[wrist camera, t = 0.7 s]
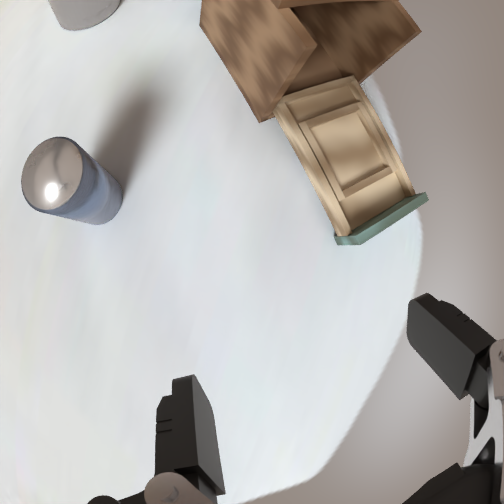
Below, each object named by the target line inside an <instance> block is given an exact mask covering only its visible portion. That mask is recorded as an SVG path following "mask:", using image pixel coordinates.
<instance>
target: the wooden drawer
mask: <svg viewBox="0 0 504 504" xmlns="http://www.w3.org/2000/svg"><path fill="white" fill-rule="evenodd" d="M272 112H273V113H274V115H275V117H276V119H277V120H278V122H279V124H280V126H281V127H282V129H283V131H284V133H285V134H286V136H287V138H288V140H289V142H290V143H291V145H292V147H293V149H294V151H295V153H296V154H297V156H298V158H299V160H300V162H301V164H302V166H303V168H304V169H305V171H306V173H307V175H308V177H309V179H310V181H311V183H312V185H313V187H314V189H315V191H316V193H317V195H318V197H319V199H320V201H321V203H322V205H323V207H324V209H325V211H326V213H327V215H328V217H329V219H330V221H331V223H332V225H333V227H334V230H335V232H336V234H337V236H335V237H334V238H335V241H336V243H337V245H361V244H363V243H364V242H366V241H367V240H369V239H370V238H372V237H374V236H375V235H377V234H378V233H380V232H381V231H383V230H385V229H386V228H388V227H389V226H391V225H392V224H394V223H395V222H397V221H398V220H400V219H401V218H403V217H404V216H406V215H407V214H409V213H410V212H412V211H413V210H415V209H416V208H418V207H419V206H421V205H422V204H424V203H425V202H427V201H428V200H429V199H428V197H427V195H426V192H424V193H419V194H415V191H414V189H413V186H412V184H411V182H410V180H409V177H408V175H407V173H406V171H405V169H404V166H403V164H402V162H401V160H400V158H399V156H398V154H397V152H396V150H395V148H394V146H393V144H392V142H391V140H390V138H389V136H388V134H387V132H386V130H385V128H384V126H383V125H382V123H381V121H380V119H379V117H378V116H377V114H376V112H375V110H374V108H373V107H372V105H371V103H370V102H369V100H368V98H367V96H366V95H365V93H364V91H363V90H362V88H361V87H360V85H359V83H358V82H357V80H356V79H355V77H354V75H353V76H349V77H345V78H341V79H338V80H334V81H331V82H327V83H324V84H320V85H317V86H314V87H310V88H307V89H304V90H301V91H298V92H295V93H292V94H289V95H286V96H283V97H282V98H281V99H280V101H279V102H278V104H277V105H276V107H275V108H274V110H273V111H272Z"/></svg>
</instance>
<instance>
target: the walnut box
mask: <svg viewBox="0 0 504 504" xmlns="http://www.w3.org/2000/svg"><path fill="white" fill-rule="evenodd" d="M200 27H201V28H202V30H203V32H204V33H205V35H206V36H207V38H208V39H209V41H210V42H211V44H212V45H213V47H214V49H215V50H216V52H217V53H218V55H219V56H220V58H221V60H222V61H223V63H224V64H225V66H226V68H227V69H228V71H229V73H230V74H231V76H232V77H233V79H234V81H235V82H236V84H237V86H238V87H239V89H240V91H241V92H242V94H243V96H244V98H245V99H246V101H247V103H248V104H249V106H250V108H251V109H252V111H253V113H254V115H255V116H256V118H257V120H258V122H259V123H261V122H263V121H266V120H268V119H271V118H273V117H275V115H274V113H273V112H272V111H273V110H274V108H275V107H276V105H277V104H278V102H279V101H280V99H281V98H282V97H283V96H286V95H289V94H292V93H295V92H298V91H301V90H304V89H307V88H310V87H314V86H317V85H320V84H324V83H327V82H331V81H334V80H338V79H341V78H345V77H349V76H353V75H354V77H355V79H356V80H357V82H358V83H359V84H360V83H362V82H363V81H364V80H365V79H366V78H367V77H368V76H370V75H371V74H372V73H373V72H374V71H375V70H376V69H378V68H379V67H380V66H381V65H382V64H384V63H385V62H386V61H387V60H388V59H389V58H390V57H392V56H393V55H394V54H395V53H396V52H398V51H399V50H400V49H401V48H402V47H404V46H405V45H406V44H407V43H408V42H410V41H411V40H412V39H413V38H415V37H416V36H417V35H418V34H419V33H421V32H422V31H421V30H420V29H419V27H418V26H417V25H416V23H415V22H414V21H413V19H412V18H411V17H410V15H409V14H408V13H407V12H406V10H405V9H404V8H403V7H402V5H401V4H400V3H399V2H398V0H202V6H201V15H200Z"/></svg>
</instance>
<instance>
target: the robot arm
mask: <svg viewBox="0 0 504 504" xmlns="http://www.w3.org/2000/svg"><path fill="white" fill-rule="evenodd" d="M48 1H49V3H50V5H51V8H52V10H53V12H54V14H55V16H56V18H57V20H58V22H59V24H60V25H61V27H63V28H64V29H67V30H74V31H75V30H82V29H86V28H89V27H92V26H94V25H96V24H98V23H100V22H102V21H103V20H105V19H106V18H108V17H109V16H110V15H111V14H112V13H113V12H114V11H115V10H116V9H117V7H118V5H119V3H120V0H48ZM407 337H408V340H409V343H410V344H411V346H412V347H413V348H414V349H415V350H416V352H418V354H419V355H420V356H421V357H422V358H423V359H424V360H425V361H426V362H427V364H428V365H429V366H430V367H431V368H432V369H433V370H434V371H435V373H436V374H437V375H438V376H439V377H440V378H441V379H442V380H443V382H444V383H445V384H446V385H447V386H448V387H449V389H450V390H451V391H452V392H453V393H454V394H455V395H456V397H457V398H458V399H459V400H461V399H462V398H463V397H465V396H466V395H468V394H470V395H471V396H472V399H471V413H470V440H469V447H468V451H467V454H466V456H465V460H464V465H463V467H460V466H459V465H458V463H455V464H454V465H452V466H451V467H449V468H448V469H446V470H445V471H443V472H442V473H440V474H438V475H437V476H435V477H433V478H432V479H430V480H429V481H428V482H427V483H426V484H424V485H423V486H422V487H421V488H420V489H419V490H418V491H417V492H416V493H414V494H413V495H412V496H411V497H410V498H409V499H407V500H406V501H405V502H404V503H402V504H504V339H501V340H498V341H497V340H495V339H494V338H493V337H492V336H491V335H489V334H488V333H487V332H486V331H485V330H484V329H482V328H481V327H480V326H479V325H478V324H476V323H475V322H474V321H473V320H472V319H471V320H470V318H469V317H468V316H467V315H465V314H463V313H462V311H460V310H459V309H458V308H457V307H455V306H454V305H452V304H450V303H447V302H445V301H442V300H441V301H438V300H437V299H435V298H434V297H433V296H432V295H430V294H429V293H425V294H423V295H421V296H419V297H417V298H415V299H412V300H410V302H409V304H408V320H407ZM156 422H157V424H156V442H155V475H154V477H153V478H152V479H151V480H150V481H149V482H148V483H147V485H146V487H145V490H143V491H142V492H140V493H138V494H135V495H133V496H130V497H127V498H124V499H122V500H119V501H117V500H115V499H114V498H112V497H110V496H104V495H102V496H97V497H95V498H93V499H92V500H90V501H89V502H88V504H217V497H216V496H218V495H224V494H226V493H225V487H224V481H223V475H222V468H221V462H220V455H219V449H218V442H217V435H216V428H215V420H214V414H213V410H212V407H211V404H210V402H209V400H208V398H207V396H206V395H205V393H204V391H203V389H202V387H201V385H200V383H199V382H198V380H197V378H196V376H195V375H194V374H193V375H189V376H185V377H181V378H176V379H173V381H172V395H169V396H164V397H162V399H161V401H160V403H159V405H158V408H157V414H156Z"/></svg>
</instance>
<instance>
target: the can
mask: <svg viewBox="0 0 504 504" xmlns="http://www.w3.org/2000/svg"><path fill="white" fill-rule="evenodd" d="M21 184H22V191H23V195H24V197H25V199H26V201H27V202H28V204H29V205H30V206H31V207H32V208H34V209H35V210H37V211H39V212H43V213H47V214H51V215H55V216H59V217H64V218H68V219H72V220H76V221H81V222H85V223H89V224H94V225H100V224H104V223H107V222H109V221H110V220H112V219H113V218H114V217H115V216H116V214H117V213H118V211H119V209H120V207H121V204H122V190H121V187H120V185H119V183H118V182H117V181H116V180H115V179H114V178H113V177H112V176H111V175H110V174H109V173H108V172H107V171H106V170H105V169H104V168H103V167H101V166H100V165H99V164H98V163H97V162H96V161H95V160H94V159H93V158H92V157H91V156H90V155H89V154H88V153H87V152H85V151H84V150H83V149H82V148H81V147H80V146H79V145H78V144H77V143H76V142H75V141H73V140H72V139H69V138H66V137H54V138H50V139H48V140H46V141H44V142H42V143H41V144H39V145H38V146H37V147H36V148H35V149H34V150H33V151H32V152H31V154H30V155H29V157H28V158H27V160H26V162H25V165H24V168H23V172H22V179H21Z"/></svg>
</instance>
